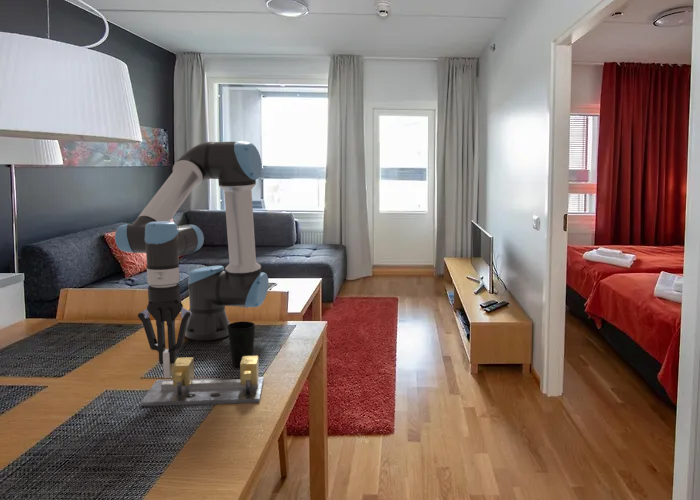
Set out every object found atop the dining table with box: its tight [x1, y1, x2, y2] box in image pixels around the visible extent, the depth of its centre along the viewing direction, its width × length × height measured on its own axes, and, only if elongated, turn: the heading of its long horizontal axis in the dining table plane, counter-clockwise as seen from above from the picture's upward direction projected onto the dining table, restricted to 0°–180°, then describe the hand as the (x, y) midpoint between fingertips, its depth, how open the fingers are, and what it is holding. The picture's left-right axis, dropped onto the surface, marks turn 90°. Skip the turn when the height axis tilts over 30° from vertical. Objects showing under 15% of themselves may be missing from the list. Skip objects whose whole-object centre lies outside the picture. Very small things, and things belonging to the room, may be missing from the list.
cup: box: [228, 320, 256, 370], centre depth 157 cm, size 8×8×12 cm
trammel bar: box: [161, 355, 260, 395], centre depth 137 cm, size 10×24×7 cm, turn 95°
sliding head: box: [171, 356, 195, 395], centre depth 136 cm, size 10×4×7 cm, turn 5°
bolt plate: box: [140, 376, 265, 407], centre depth 138 cm, size 14×28×1 cm, turn 95°
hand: (168, 375), depth 138 cm, fingers closed
